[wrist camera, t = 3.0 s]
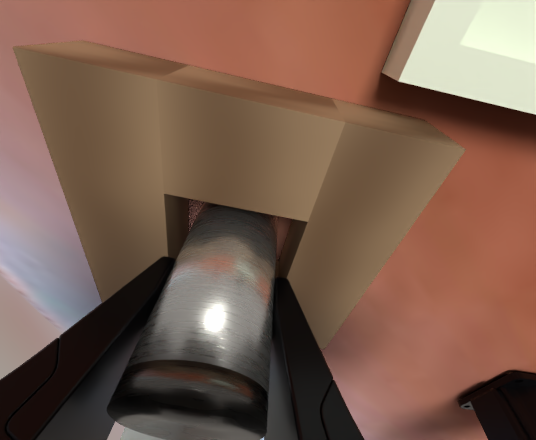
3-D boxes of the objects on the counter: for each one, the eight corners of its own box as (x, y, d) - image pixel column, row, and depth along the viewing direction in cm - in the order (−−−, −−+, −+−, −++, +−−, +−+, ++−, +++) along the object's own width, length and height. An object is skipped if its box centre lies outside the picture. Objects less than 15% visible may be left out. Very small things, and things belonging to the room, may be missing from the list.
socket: (424, 119, 8) (465, 149, 7) (319, 306, 15) (324, 349, 13) (82, 40, 8) (11, 46, 6) (131, 274, 14) (106, 314, 12)
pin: (285, 192, 11) (282, 411, 5) (269, 250, 13) (253, 451, 7) (203, 175, 10) (89, 384, 4) (200, 237, 12) (120, 434, 6)
